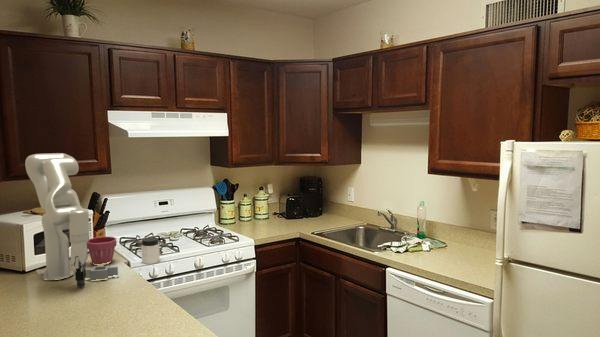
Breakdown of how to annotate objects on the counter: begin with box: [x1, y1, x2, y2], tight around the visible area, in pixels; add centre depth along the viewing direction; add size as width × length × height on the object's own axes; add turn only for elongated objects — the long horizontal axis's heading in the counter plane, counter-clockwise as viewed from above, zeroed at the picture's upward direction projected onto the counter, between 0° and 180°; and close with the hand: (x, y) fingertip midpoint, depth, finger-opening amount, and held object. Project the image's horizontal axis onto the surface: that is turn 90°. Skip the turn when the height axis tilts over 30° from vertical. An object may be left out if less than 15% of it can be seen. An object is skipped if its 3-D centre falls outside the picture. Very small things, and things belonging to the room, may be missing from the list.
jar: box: [140, 237, 161, 265], centre depth 220 cm, size 9×8×12 cm
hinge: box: [84, 264, 119, 281], centre depth 193 cm, size 15×7×5 cm, turn 105°
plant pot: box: [87, 236, 118, 264], centre depth 216 cm, size 14×14×13 cm
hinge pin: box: [73, 261, 87, 288], centre depth 182 cm, size 5×5×10 cm
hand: (80, 278), depth 182 cm, fingers closed on hinge pin, 3 cm apart
